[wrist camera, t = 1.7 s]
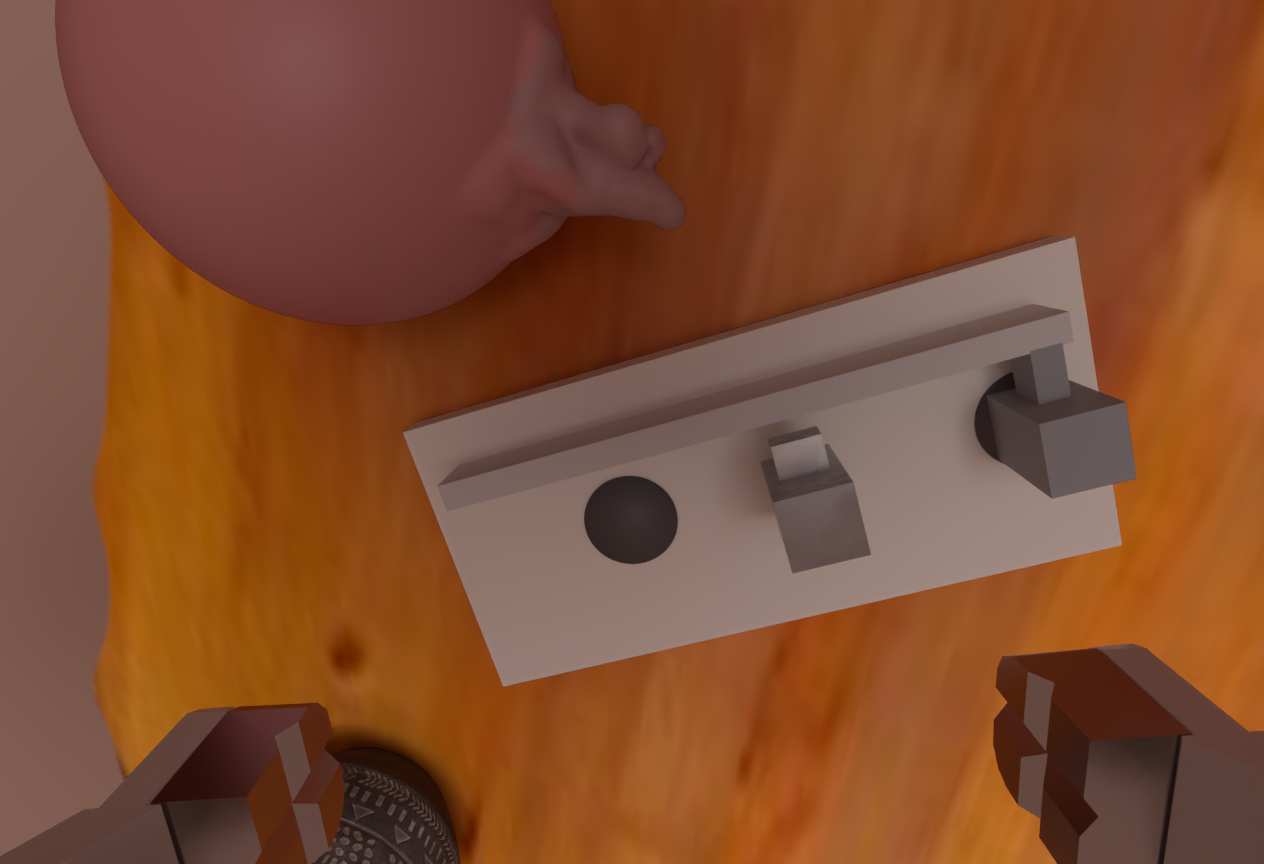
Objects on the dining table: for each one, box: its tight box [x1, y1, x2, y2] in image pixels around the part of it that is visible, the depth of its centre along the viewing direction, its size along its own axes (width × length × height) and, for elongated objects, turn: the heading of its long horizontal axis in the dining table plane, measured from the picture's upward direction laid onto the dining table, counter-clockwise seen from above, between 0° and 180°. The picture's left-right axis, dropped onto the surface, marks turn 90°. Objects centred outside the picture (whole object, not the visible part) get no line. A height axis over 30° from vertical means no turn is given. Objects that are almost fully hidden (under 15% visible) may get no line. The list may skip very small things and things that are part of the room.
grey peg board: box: [403, 237, 1136, 687], centre depth 32 cm, size 30×14×7 cm, turn 107°
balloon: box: [55, 0, 686, 325], centre depth 25 cm, size 15×20×15 cm
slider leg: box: [761, 426, 871, 574], centre depth 30 cm, size 3×4×5 cm, turn 17°
